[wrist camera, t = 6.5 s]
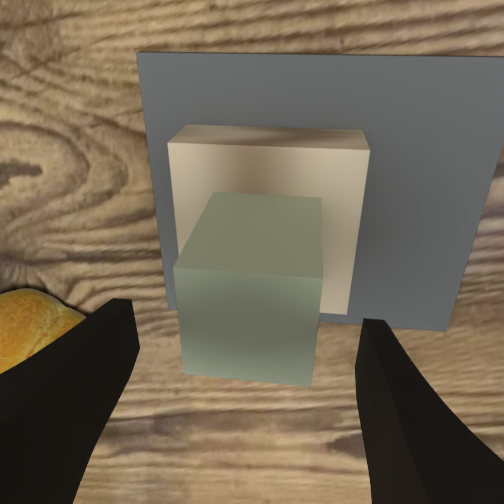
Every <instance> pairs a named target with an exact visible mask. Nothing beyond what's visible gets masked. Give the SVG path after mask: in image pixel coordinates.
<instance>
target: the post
mask: <svg viewBox="0 0 504 504" xmlns="http://www.w3.org/2000/svg"><path fill="white" fill-rule="evenodd" d="M173 272H174V281H175V291H176V301H177V311H178V320H179V330H180V340H181V350H182V360H183V369H184V374H189V375H199V376H209V377H219V378H228V379H238V380H248V381H258V382H267V383H277V384H287V385H296V386H306V387H311V384H312V375H313V366H314V357H315V348H316V339H317V330H318V321H319V312H320V304H321V295H322V286H323V255H322V223H321V198H317V197H299V196H282V195H264V194H246V193H229V192H213V193H212V195H211V197H210V199H209V201H208V203H207V205H206V206H205V208H204V210H203V212H202V214H201V216H200V218H199V220H198V221H197V223H196V225H195V227H194V229H193V231H192V233H191V235H190V237H189V238H188V240H187V242H186V244H185V246H184V248H183V250H182V252H181V253H180V255H179V257H178V259H177V261H176V263H175V265H174V267H173Z"/></svg>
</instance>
